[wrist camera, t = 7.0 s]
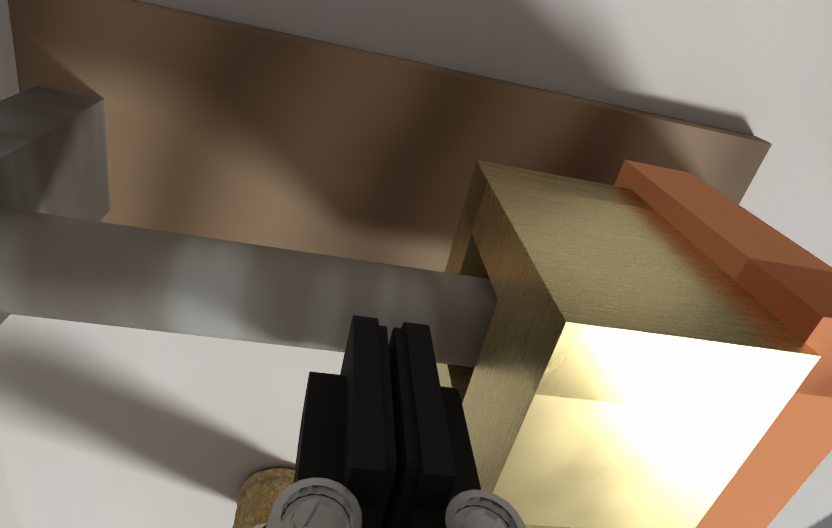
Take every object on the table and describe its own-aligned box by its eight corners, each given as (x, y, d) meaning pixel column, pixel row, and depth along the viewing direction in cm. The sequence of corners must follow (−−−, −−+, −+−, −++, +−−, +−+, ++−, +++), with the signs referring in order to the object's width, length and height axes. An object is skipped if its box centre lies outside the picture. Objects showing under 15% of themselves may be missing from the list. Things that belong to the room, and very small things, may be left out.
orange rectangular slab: (599, 361, 21) (725, 577, 14) (542, 354, 21) (642, 573, 14) (690, 172, 18) (929, 332, 10) (624, 159, 17) (823, 316, 10)
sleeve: (556, 359, 20) (659, 575, 13) (424, 343, 19) (460, 566, 12) (630, 188, 17) (821, 356, 10) (476, 159, 16) (566, 321, 9)
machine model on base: (755, 135, 21) (998, 250, 13) (648, 337, 26) (779, 512, 18) (23, -24, 17) (-301, 1, 8) (56, 258, 21) (-132, 448, 13)
